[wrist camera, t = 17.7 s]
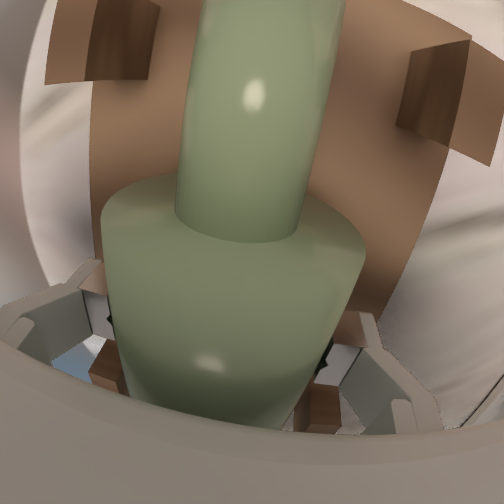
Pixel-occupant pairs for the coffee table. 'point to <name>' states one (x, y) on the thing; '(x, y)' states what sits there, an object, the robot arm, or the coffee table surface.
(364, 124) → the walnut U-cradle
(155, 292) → the olive glass bottle
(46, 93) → the coffee table surface
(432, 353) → the coffee table surface
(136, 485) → the robot arm
